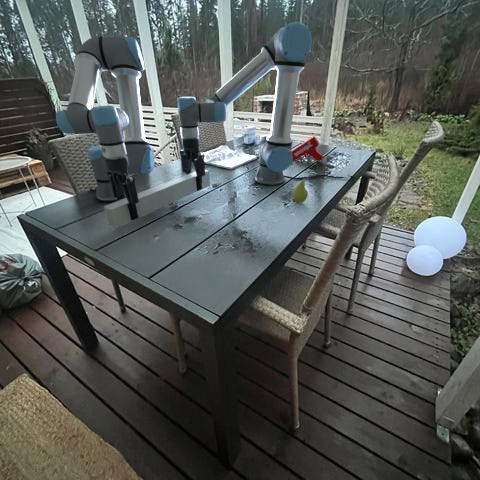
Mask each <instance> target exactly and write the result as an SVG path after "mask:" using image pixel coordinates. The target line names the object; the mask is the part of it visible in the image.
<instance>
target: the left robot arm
mask: <svg viewBox="0 0 480 480" xmlns="http://www.w3.org/2000/svg"><path fill="white" fill-rule="evenodd" d="M141 51H142V50H141V49H140V45H139V43H138V41H137V39H136V38H135V37H133V36H126V35H122V36H99V35H98V36H97V35H96V36H92V37H89V38H88V39H87V40H85V41H84V42H83V43H82V44H81V45H80V46H79V48H78V49H77V51H76V53H75V56H74V66H75V71H74V75H73V81H72V83H71V85H72V86H71V89H70V94H69V99H68V103H67V107H66V110H65V109H62V110H58V111H56V114H55V121H56V124H57V127H58V128H59V130H60V131H61V132H62V133H64V134H65V135H66V134H67V135H85V134H87V135H88V134H96V136H97V140H98V142H99V145H96V146H93V147H91V148H90V149H89V150H88V152H87V154H88V158H89V162H90V166H91V168H92V171H93V175H94V179H95V181H96V189H93V188H89V189H88V190H89V191H92V192H96V193H95V196H96V199H97V201H98V202H101V203H106V204H107V203H108V204H111V203H114V202H116V201H119V200H122V199H124V198H127V201H128V203H129V204H127V205H128V209H129V213H130V217H131V220H132V221H131V222H134V221H136V220H138V219H140V218H139V217H138V213H137V208H136V203H138V202H139V200H138V195H137V193H138V192H137V188H136V182H135V181H136V179H135V177H134V176H130V175H136V174H137V175H140V174H141V175H144V174H150V173H152V172H153V170H154V167H155V149H154V147H153V146H152V145H150V141H148V139H146V135H145V127H144V119H143V118H144V117H143V109H142V103H141V102H142V101H141V94H140V85H139V79H140V78H141V77H142V72H144V70H145V63H144V59H143V55H142V52H141ZM105 71H106V72H107V71H108V72H111V75H112V76H113V77H114V78H115V80H116V87H117V95H118V101H119V107H115V106H114V105H97V106H94V102H95V97H96V95H95V94H96V90H97V84H98V78H99V77H100V76H101V75H102V73H103V72H105ZM137 218H138V219H137ZM135 219H136V220H135ZM133 220H134V221H133Z"/></svg>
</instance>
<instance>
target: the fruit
mask: <svg viewBox="0 0 480 480" xmlns="http://www.w3.org/2000/svg"><path fill="white" fill-rule="evenodd" d="M310 176H311V175H310V174H309V175H307V176H306V177H307V178H305V179H301V181H300V182H298V184H297V185H296V186H295V187H294V188H293V190H292V191H291V198H292V200H293V201H294V202H295V203H297V204H301V203H304V202H305V201H306V200H307V198H308V196H309V195H308V190H307V189H306V184H305V183H306V180H308V179H310V178H309V177H310Z"/></svg>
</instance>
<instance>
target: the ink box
mask: <svg viewBox="0 0 480 480" xmlns="http://www.w3.org/2000/svg"><path fill="white" fill-rule="evenodd" d="M256 129H257V127H256V126H253V125H251V126H245V127H243V144H246V145H251V144H254V143H256Z"/></svg>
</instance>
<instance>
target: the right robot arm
mask: <svg viewBox="0 0 480 480" xmlns="http://www.w3.org/2000/svg"><path fill="white" fill-rule="evenodd" d="M312 36H313V35H312V33H311V30H310V29H309V27H308V26H307V25H306V24H304V23H303V22H299V21H296V22H295V21H294V22H290V23H286V25H285V26H282V27H281V28H279V29H278V30H277V31H276V33H275V34H274V35H273V36H272V37H271V38H270V40H269V41H267V42H266V43H265V44H264V45H263V46H262V47H261V51H260V52H259V54H258V55H256V56H255V57H254V58H253V59H252V60H250V61H249V62H248V63H247V64H246V65H245V66H244V67H242V69H240V70H239V71H238V72H237V73H235V75H234V76H233V77H232V78H230V79H229V80H228V81H226V83H225V84H223V85H222V86H221V87H220V88H219V89H218V90H217V91H215V92H214V93H213V94H212V95H211V96H210V97H209V98H207V99H205V100H204V102H198V101H197V99H196V97H195V96H180V97H179V98H177V113H178V120H179V128H180V136H181V146H182V148H183V149H181V150H179V155H180V161H181V167H182V169H181V170H182V172H183V173H185V175H187V174H190V173H192V172H193V171H192V165H193V166H194V170H195V171H196V174H197V176H196V185H197V192H200V191H202V190H203V189H202V176H204V175H205V170H206V163H204V157H205V154H201V151H200V149H199V148H200V145H201V144H200V138H199V137H200V132H199V131H200V130H199V123H224V122H225V121H226V120H227V108H228V107H229V106H230V105H231V104H232V103H233V102H234V101H236V100H237V99H238V98H239V97H240V96H241V95H243V94H244V93H245V92H247V90H248V89H250V88H251V87H252V86H253V85H255V84H256V83H257V82H258V81H259V80H261V78H263V77H264V76H265V75H266V74H267V73H268V72H270V71H271V70H276V71H277V75H276V83H275V92H274V101H273V108H272V117H271V126H270V134H263V135H261V136H260V137H259V153H258V157H259V159H258V167H257V171H256V174H255V178H254V181H255V183H258V184H259V185H262V186H263V185H264V186H279V185H281V184H283V183H284V181H285V178H286V179H292V180H305V179H306V178H307V177H308V176H301V177H293V176H289V175H284V171H286V170H288V168H290V166H291V164H292V163H293V161H294V160H293V156H292V152H291V151H292V148H293V147H292V146H293V139H292V137H291V130H292V124H293V118H294V111H295V105H296V98H297V93H298V85H299V79H300V73H301V72H302V71H303V70H304V69H305V66H306V65H305V64H306V59H307V56H308V55H309V53H310V51H311V49H312V45H313V37H312ZM195 159H196V160H195ZM195 171H194V172H195ZM315 175H316V176H314V175H310V176H311V177H309V178H307V179H311V178H318V177H327V178H332V179H344V178H345V177H342V176H336V177H334V176H335V175H330V176H328V175H329V174H315ZM349 178H351V179H352V178H354V177H353V175H352V176H349ZM201 189H202V190H201ZM199 190H200V191H199Z"/></svg>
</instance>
